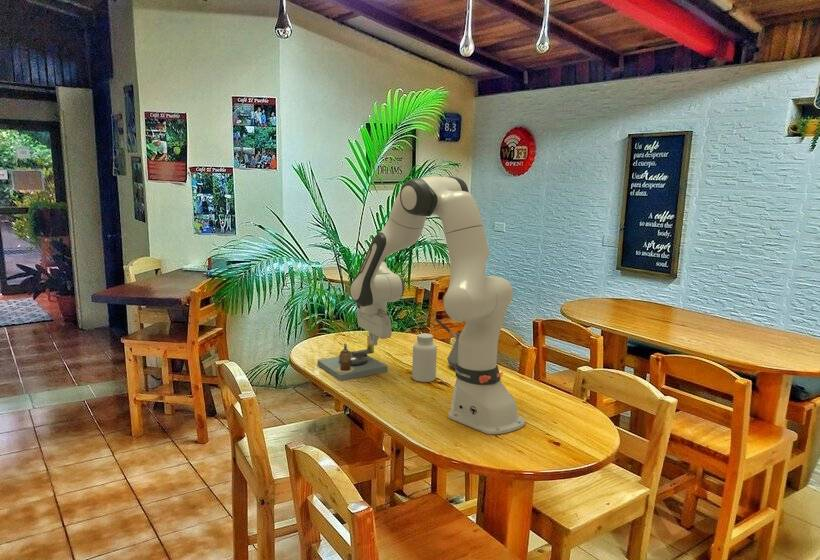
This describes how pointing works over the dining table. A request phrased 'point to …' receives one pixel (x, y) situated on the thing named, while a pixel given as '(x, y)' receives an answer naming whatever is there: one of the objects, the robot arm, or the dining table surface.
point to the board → (352, 368)
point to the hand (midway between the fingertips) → (373, 344)
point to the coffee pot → (454, 352)
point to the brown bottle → (345, 359)
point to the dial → (361, 355)
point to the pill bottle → (424, 358)
